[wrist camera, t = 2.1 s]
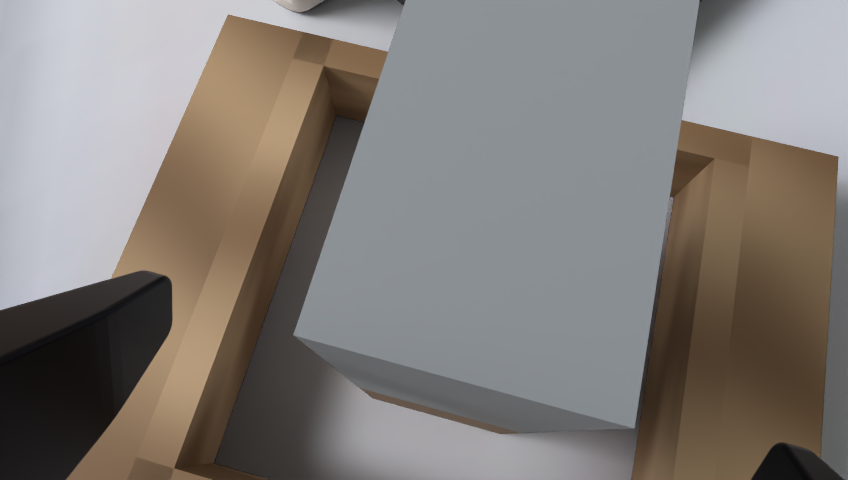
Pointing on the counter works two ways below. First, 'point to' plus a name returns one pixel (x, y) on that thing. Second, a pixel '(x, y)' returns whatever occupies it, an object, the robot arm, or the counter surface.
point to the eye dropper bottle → (298, 4)
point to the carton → (283, 205)
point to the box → (508, 212)
